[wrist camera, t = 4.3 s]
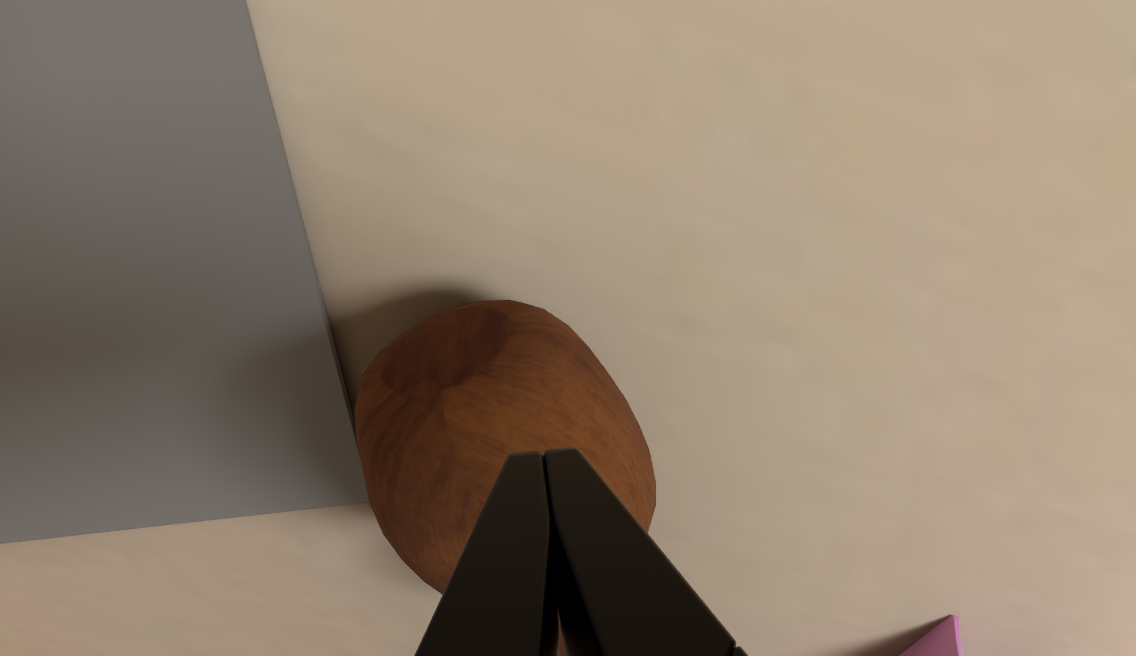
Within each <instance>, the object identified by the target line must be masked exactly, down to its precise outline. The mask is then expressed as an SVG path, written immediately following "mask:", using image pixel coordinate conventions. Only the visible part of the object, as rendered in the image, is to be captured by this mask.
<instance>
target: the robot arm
mask: <svg viewBox="0 0 1136 656" xmlns="http://www.w3.org/2000/svg"><path fill="white" fill-rule="evenodd" d="M557 606H558V607H557ZM558 615H559V622H560V629H561V635H562V640H563V645H564V650H565V654H566V656H748V655H747V654H746V653H745V651H744V650H743V649H742V648H741V647H739V646H738V647H736V641H735V640H734V638H733V637H732V636H731V635H730V633H729V632H728V631H727V630H726V629H725V627H724V626H723V625H722V624H721V622H720V621H719V620H718V619H717V618H716V616H715V615H714V614H713V613H712V611H711V610H710V609H709V608H708V607H707V605H706V604H705V603H704V602H703V600H702V599H701V598H700V597H699V596H698V594H697V593H696V592H695V591H694V590H693V588H692V587H691V586H690V585H689V583H688V582H687V581H686V580H685V579H684V577H683V576H682V575H681V574H680V572H679V571H678V570H677V569H676V568H675V566H674V565H673V564H672V563H671V561H670V560H669V559H668V558H667V557H666V555H665V554H664V553H663V552H662V550H661V549H660V548H659V547H658V546H657V544H656V543H655V542H654V541H653V539H652V538H651V537H650V536H649V535H648V533H647V532H646V531H645V530H644V528H643V527H642V526H641V525H640V524H639V522H638V521H637V520H636V519H635V517H634V516H633V515H632V514H631V513H630V511H629V510H628V509H627V508H626V506H625V505H624V504H623V503H622V502H621V500H620V499H619V498H618V497H617V495H616V494H615V493H614V492H613V491H612V489H611V488H610V487H609V486H608V484H607V483H606V482H605V481H604V480H603V478H602V477H601V476H600V475H599V473H598V472H597V471H596V470H595V469H594V467H593V466H592V465H591V464H590V463H589V461H588V460H587V459H586V458H585V456H584V455H583V454H582V453H581V452H580V451H579V450H578V449H577V448H575V447H566V448H556V449H548V450H546V451H545V452H544V455H542V453H541V452H540V451H527V452H518V453H511V454H510V455H508V457H507V458H506V460H505V462H504V464H503V466H502V469H501V471H500V473H499V475H498V477H497V479H496V482H495V484H494V486H493V488H492V490H491V492H490V494H489V497H488V499H487V501H486V503H485V505H484V507H483V509H482V512H481V514H480V516H479V518H478V520H477V522H476V525H475V527H474V529H473V531H472V533H471V535H470V537H469V540H468V542H467V544H466V546H465V548H464V550H463V552H462V555H461V557H460V559H459V561H458V563H457V565H456V568H455V570H454V572H453V574H452V576H451V578H450V580H449V583H448V585H447V587H446V589H445V591H444V593H443V595H442V598H441V600H440V602H439V604H438V606H437V608H436V611H435V613H434V615H433V617H432V619H431V621H430V623H429V626H428V628H427V630H426V632H425V634H424V636H423V638H422V641H421V643H420V645H419V647H418V649H417V651H416V654H415V656H559V622H558Z"/></svg>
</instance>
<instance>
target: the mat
mask: <svg viewBox="0 0 1136 656" xmlns="http://www.w3.org/2000/svg"><path fill="white" fill-rule="evenodd" d="M366 502H369V499H368V494H367V489H366V483H365V478H364V473H363V468H362V463H361V458H360V454H359V449H358V444H357V436H356V425H355V421H354V417H353V413H352V409H351V405H350V402H349V398H348V394H347V390H346V386H345V382H344V378H343V375H342V371H341V367H340V363H339V359H338V355H337V351H336V347H335V344H334V340H333V336H332V332H331V328H330V324H329V320H328V317H327V313H326V309H325V305H324V301H323V297H322V293H321V289H320V286H319V282H318V278H317V274H316V270H315V266H314V262H313V259H312V255H311V251H310V247H309V243H308V239H307V235H306V231H305V228H304V224H303V220H302V216H301V212H300V208H299V204H298V201H297V197H296V193H295V189H294V185H293V181H292V177H291V173H290V170H289V166H288V162H287V158H286V154H285V150H284V146H283V143H282V139H281V135H280V131H279V127H278V123H277V119H276V115H275V112H274V108H273V104H272V100H271V96H270V92H269V88H268V85H267V81H266V77H265V73H264V69H263V65H262V61H261V57H260V54H259V50H258V46H257V42H256V38H255V34H254V30H253V27H252V23H251V19H250V15H249V11H248V7H247V3H246V0H0V544H3V543H12V542H21V541H30V540H38V539H47V538H56V537H65V536H74V535H83V534H92V533H100V532H109V531H118V530H127V529H136V528H145V527H154V526H163V525H171V524H180V523H189V522H198V521H207V520H216V519H225V518H233V517H242V516H251V515H260V514H269V513H278V512H287V511H295V510H304V509H313V508H322V507H331V506H340V505H349V504H358V503H366Z"/></svg>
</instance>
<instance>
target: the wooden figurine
mask: <svg viewBox="0 0 1136 656" xmlns="http://www.w3.org/2000/svg"><path fill="white" fill-rule="evenodd" d="M354 414H355V425H356V436H357V444H358V449H359V454H360V458H361V463H362V468H363V473H364V478H365V483H366V489H367V494H368V499H369V502H370V504H371V507H372V509H373V511H374V514H375V516H376V518H377V521H378V523H379V525H380V528H381V530H382V532H383V534H384V536H385V537H386V539H387V540H388V541H389V543H390V544H391V545H392V547H393V548H394V549H395V551H396V552H397V554H398V555H399V556H400V558H401V559H402V560H403V561H404V562H405V563H406V564H407V565H408V566H409V567H410V568H411V569H412V570H413V571H414V572H415V573H416V574H417V575H418V576H419V577H420V578H421V579H422V580H423V581H424V582H425V583H427V584H428V585H430V586H431V587H433V588H434V589H436V590H437V591H438V592H440V593H441V594H443V593H444V591H445V589H446V587H447V585H448V583H449V580H450V578H451V576H452V574H453V572H454V570H455V568H456V565H457V563H458V561H459V559H460V557H461V555H462V552H463V550H464V548H465V546H466V544H467V542H468V540H469V537H470V535H471V533H472V531H473V529H474V527H475V525H476V522H477V520H478V518H479V516H480V514H481V512H482V509H483V507H484V505H485V503H486V501H487V499H488V497H489V494H490V492H491V490H492V488H493V486H494V484H495V482H496V479H497V477H498V475H499V473H500V471H501V469H502V466H503V464H504V462H505V460H506V458H507V457H508V455H510V454H511V453H518V452H527V451H540V452H541V453H542V455H544V452H545V451H546V450H548V449H556V448H566V447H575V448H577V449H578V450H579V451H580V452H581V453H582V454H583V455H584V456H585V458H586V459H587V460H588V461H589V463H590V464H591V465H592V466H593V467H594V469H595V470H596V471H597V472H598V473H599V475H600V476H601V477H602V478H603V480H604V481H605V482H606V483H607V484H608V486H609V487H610V488H611V489H612V491H613V492H614V493H615V494H616V495H617V497H618V498H619V499H620V500H621V502H622V503H623V504H624V505H625V506H626V508H627V509H628V510H629V511H630V513H631V514H632V515H633V516H634V517H635V519H636V520H637V521H638V522H639V524H640V525H641V526H642V527H643V528H644V530H645V531H646V532H647V533H648V530H649V527H650V523H651V520H652V516H653V513H654V509H655V506H656V481H655V476H654V471H653V466H652V461H651V456H650V451H649V448H648V446H647V443H646V441H645V438H644V436H643V433H642V431H641V428H640V426H639V424H638V422H637V420H636V418H635V416H634V414H633V412H632V410H631V408H630V406H629V404H628V402H627V400H626V399H625V397H624V396H623V394H622V393H621V391H620V390H619V388H618V387H617V385H616V384H615V382H614V381H613V380H612V378H611V377H610V375H609V374H608V372H607V371H606V369H605V368H604V367H603V365H602V364H601V363H600V361H599V360H598V359H597V357H596V356H595V355H594V353H593V352H592V351H591V349H590V348H589V347H588V346H587V345H586V344H585V343H584V341H583V340H582V339H581V338H580V337H579V336H578V335H577V334H576V333H575V332H574V331H573V330H572V329H571V328H570V327H569V326H568V325H567V324H566V323H564V322H563V321H561V320H560V319H558V318H557V317H555V316H554V315H552V314H551V313H549V312H548V311H546V310H545V309H542V308H538V307H535V306H532V305H528V304H525V303H521V302H516V301H511V300H494V301H481V302H476V303H471V304H467V305H462V306H457V307H454V308H452V309H449V310H447V311H445V312H442V313H440V314H438V315H435V316H433V317H430V318H428V319H426V320H424V321H423V322H421V323H419V324H418V325H416V326H414V327H412V328H411V329H409V330H407V331H405V332H404V333H402V334H400V335H399V336H398V337H397V338H396V339H394V340H393V341H392V342H391V343H390V344H388V345H387V346H386V347H385V348H384V349H382V350H381V351H380V352H379V353H378V354H377V356H376V357H375V358H374V360H373V361H372V363H371V364H370V366H369V367H368V368H367V370H366V371H365V373H364V374H363V376H362V380H361V383H360V387H359V391H358V396H357V401H356V406H355V411H354ZM557 607H558V606H557ZM558 622H559V615H558ZM559 656H566V654H565V650H564V645H563V640H562V635H561V629H560V622H559Z"/></svg>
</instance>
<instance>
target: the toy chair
mask: <svg viewBox="0 0 1136 656" xmlns="http://www.w3.org/2000/svg"><path fill="white" fill-rule="evenodd" d="M899 656H963V654H962V647H961V639H960V628H959V620H958V617H956V616H954V615H950V616H949V617H948V618H946V619H945V620H944V621H942V622H941V623H940V624H939V625H937V626H936V627H935V628H933V629H932V630H931V631H930V632H928V633H927V634H926V635H925V636H923V637H922V638H921V639H919V640H918V641H917V642H916V643H914V644H913V645H912V646H910V647H909V648H908V649H907V650H905V651H904V652H903V653H902V654H900V655H899Z"/></svg>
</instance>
